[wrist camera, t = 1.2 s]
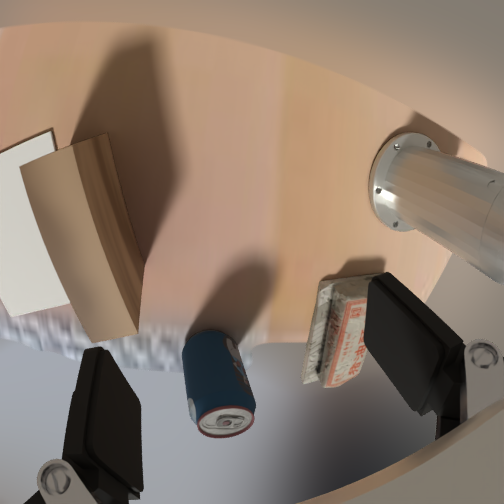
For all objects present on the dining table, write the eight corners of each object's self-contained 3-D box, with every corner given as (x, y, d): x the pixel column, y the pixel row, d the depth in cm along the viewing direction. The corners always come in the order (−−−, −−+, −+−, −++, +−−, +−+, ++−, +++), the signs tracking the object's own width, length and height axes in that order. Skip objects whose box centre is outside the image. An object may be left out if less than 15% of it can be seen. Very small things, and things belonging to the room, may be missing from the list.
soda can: (174, 360, 38) (183, 438, 27) (191, 320, 35) (204, 400, 25) (224, 369, 40) (243, 442, 30) (244, 331, 38) (272, 406, 28)
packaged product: (333, 299, 34) (400, 287, 36) (315, 278, 38) (380, 269, 40) (310, 400, 41) (367, 384, 44) (298, 377, 45) (353, 364, 48)
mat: (51, 131, 23) (50, 131, 23) (104, 293, 31) (103, 295, 31) (-44, 178, 21) (-46, 179, 20) (12, 315, 29) (10, 317, 29)
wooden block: (107, 132, 25) (72, 145, 15) (144, 265, 31) (138, 333, 22) (69, 145, 24) (19, 166, 15) (110, 274, 31) (92, 343, 21)
